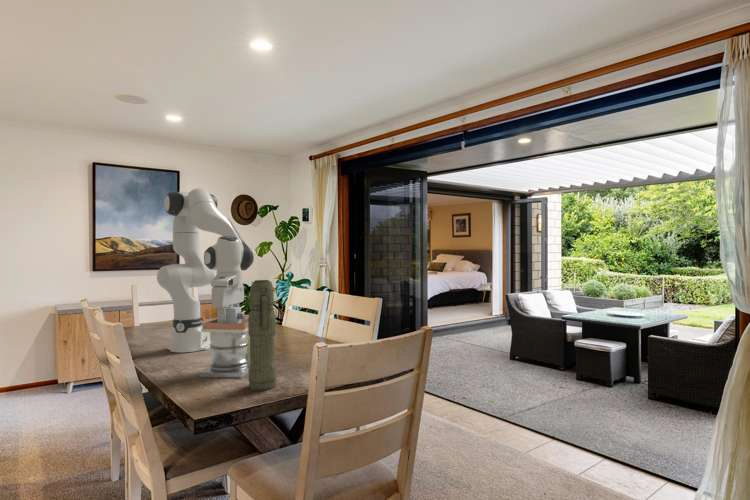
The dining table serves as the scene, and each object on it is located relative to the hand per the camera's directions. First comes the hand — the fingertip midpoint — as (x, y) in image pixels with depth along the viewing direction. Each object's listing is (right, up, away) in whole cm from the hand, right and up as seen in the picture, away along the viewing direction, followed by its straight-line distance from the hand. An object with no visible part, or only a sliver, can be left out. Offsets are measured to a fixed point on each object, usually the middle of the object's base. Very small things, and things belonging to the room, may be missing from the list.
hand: (229, 316), depth 166 cm
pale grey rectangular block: (0, -4, 0) cm, 4 cm away
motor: (0, -20, 0) cm, 20 cm away
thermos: (+17, -20, -19) cm, 33 cm away
